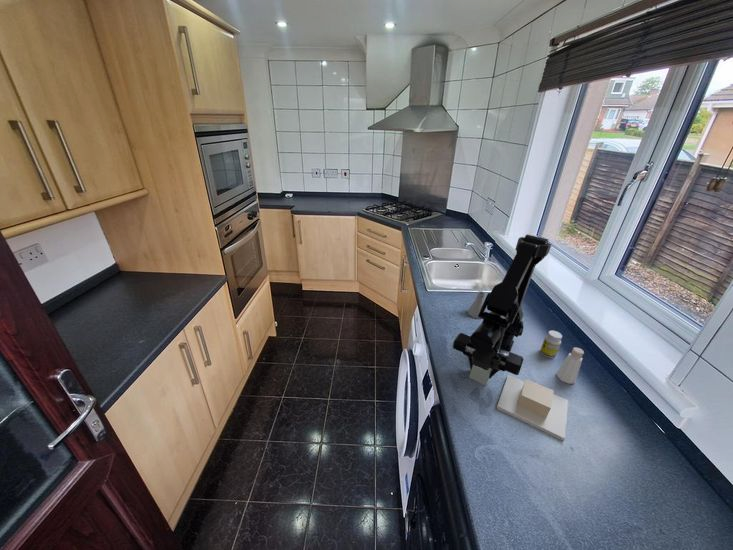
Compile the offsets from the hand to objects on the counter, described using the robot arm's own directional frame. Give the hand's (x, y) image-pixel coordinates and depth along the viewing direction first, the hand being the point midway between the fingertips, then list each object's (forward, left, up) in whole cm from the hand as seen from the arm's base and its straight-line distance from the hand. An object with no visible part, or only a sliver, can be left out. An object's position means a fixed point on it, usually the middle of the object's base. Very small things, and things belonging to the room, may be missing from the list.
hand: (480, 373), depth 91 cm
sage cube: (0, 0, -1) cm, 1 cm away
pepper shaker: (-16, +22, -1) cm, 27 cm away
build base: (+2, +15, -1) cm, 15 cm away
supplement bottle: (-25, +16, -2) cm, 30 cm away
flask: (-34, -11, -2) cm, 36 cm away
